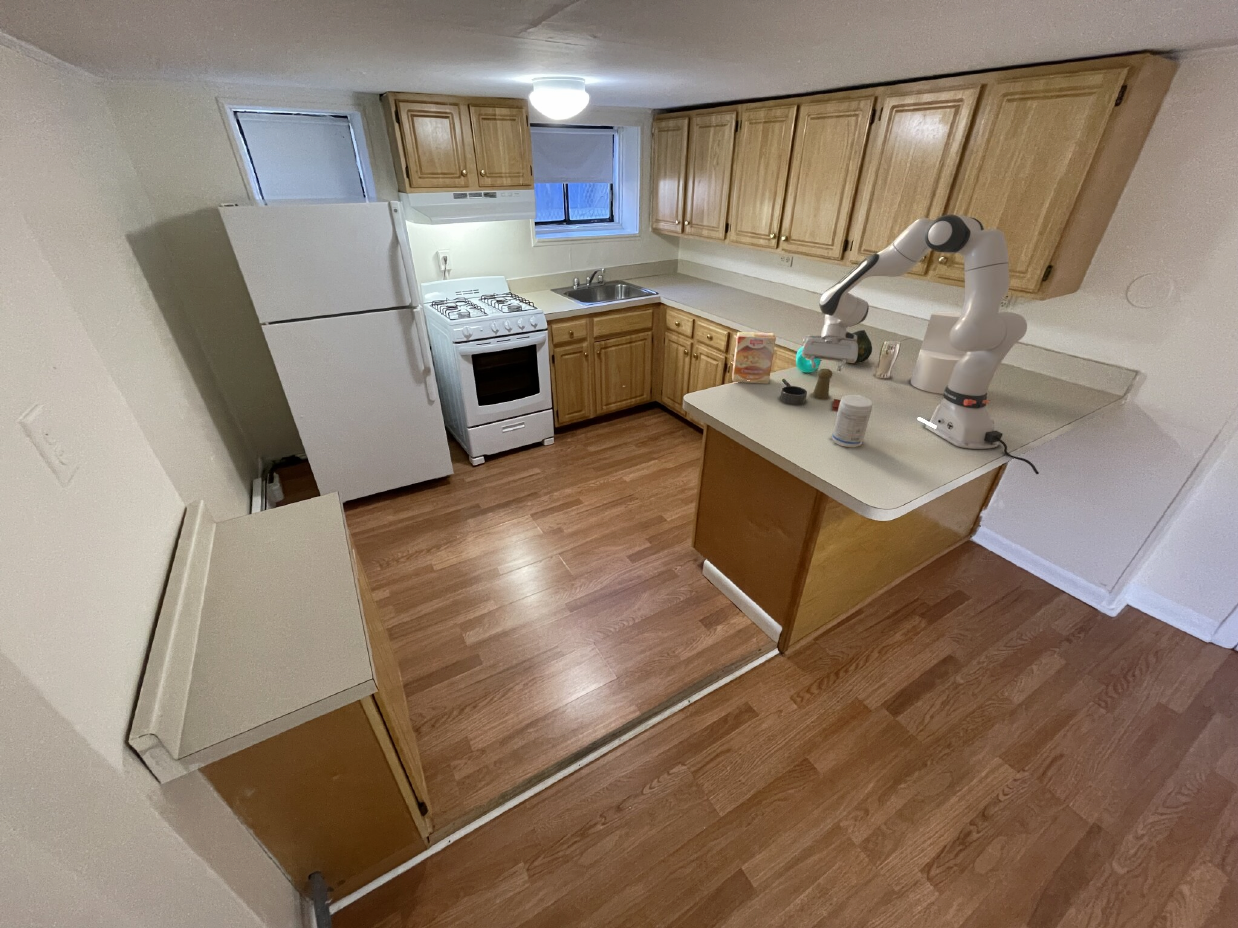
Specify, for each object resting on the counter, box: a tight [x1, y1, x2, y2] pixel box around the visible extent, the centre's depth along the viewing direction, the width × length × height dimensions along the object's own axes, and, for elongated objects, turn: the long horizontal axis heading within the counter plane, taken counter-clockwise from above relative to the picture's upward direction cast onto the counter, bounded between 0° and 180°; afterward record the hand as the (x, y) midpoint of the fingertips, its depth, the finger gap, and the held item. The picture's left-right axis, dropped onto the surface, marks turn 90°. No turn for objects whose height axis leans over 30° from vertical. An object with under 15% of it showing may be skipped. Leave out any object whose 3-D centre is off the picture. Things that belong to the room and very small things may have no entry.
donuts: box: [795, 345, 822, 374], centre depth 223 cm, size 10×10×10 cm
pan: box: [779, 385, 808, 406], centre depth 196 cm, size 9×9×4 cm
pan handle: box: [781, 378, 792, 387], centre depth 202 cm, size 8×1×1 cm, turn 3°
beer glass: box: [874, 339, 902, 380], centre depth 214 cm, size 7×7×15 cm
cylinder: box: [910, 311, 967, 395], centre depth 202 cm, size 17×17×28 cm
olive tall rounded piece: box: [811, 368, 833, 400], centre depth 197 cm, size 6×6×11 cm
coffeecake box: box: [731, 331, 777, 384], centre depth 210 cm, size 15×7×20 cm, turn 82°
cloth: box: [831, 398, 841, 412], centre depth 190 cm, size 8×7×1 cm
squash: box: [846, 329, 873, 365], centre depth 232 cm, size 14×15×15 cm
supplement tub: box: [831, 394, 874, 448], centre depth 164 cm, size 10×10×15 cm
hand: (826, 369), depth 197 cm, fingers open, 8 cm apart
